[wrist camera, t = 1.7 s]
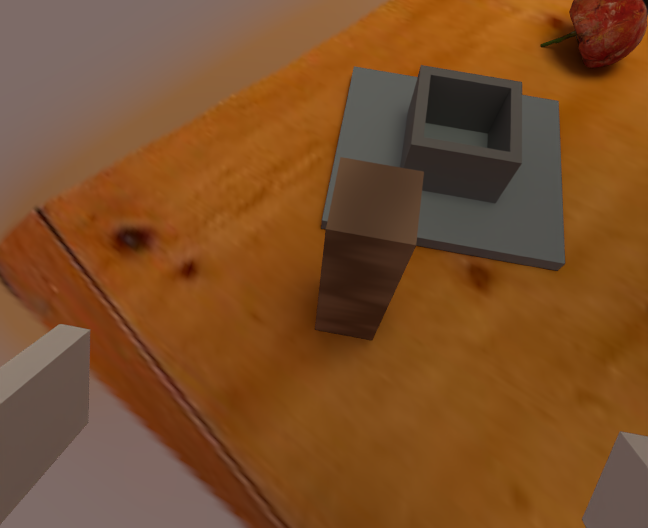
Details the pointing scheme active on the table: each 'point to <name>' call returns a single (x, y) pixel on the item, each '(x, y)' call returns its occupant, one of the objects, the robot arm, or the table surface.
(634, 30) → the pomegranate
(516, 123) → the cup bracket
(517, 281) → the table surface
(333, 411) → the table surface
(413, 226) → the walnut rail post
